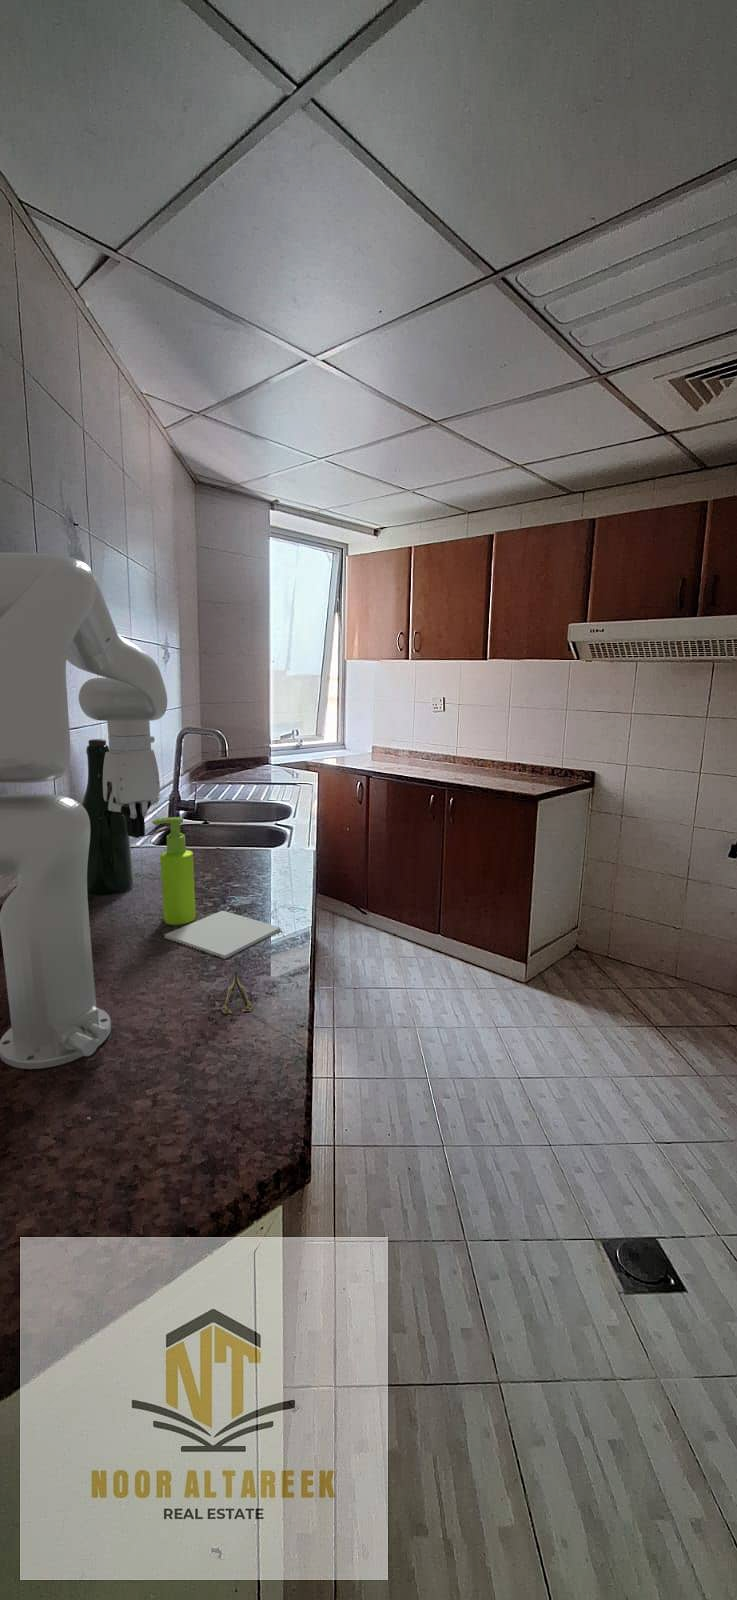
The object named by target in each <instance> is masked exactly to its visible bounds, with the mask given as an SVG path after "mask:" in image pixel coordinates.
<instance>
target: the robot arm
mask: <svg viewBox="0 0 737 1600" xmlns="http://www.w3.org/2000/svg"><path fill="white" fill-rule="evenodd" d="M117 631H118V630H117V629H116V626H115V624H114V622H113V618H112V617H111V614H110V611H109V608H108V606H107V603H106V599H105V598H104V594H103V593H102V590H101V587H100V585H99V582H98V580H97V578H96V576H95V575H94V573H93V570H92V569H91V568H90V566H89V565H87V564H86V562H83V561H82V560H80V559H78V558H75V557H70V556H68V555H67V556H66V555H61V554H51V553H37V552H0V785H1V784H3V785H4V784H33V783H36V784H37V783H44V782H50V781H54V780H57V779H59V778H61V777H63V776H64V775H65V773H66V772H67V771H68V769H69V766H70V763H71V733H70V731H71V730H70V718H69V703H68V701H69V700H68V689H67V671H66V670H67V666H66V665H67V662H68V663H70V664H71V665H72V666H74V667H76V668H77V669H80V670H82V671H84V672H88V673H91V674H93V675H97V676H99V677H93V678H91V679H88V680H86V681H85V682H83V684H82V685H81V686H80V689H79V694H78V702H79V703H78V704H79V707H80V709H81V710H82V712H83V713H84V714H85V716H87V717H88V718H90V719H91V720H95V721H102V722H103V721H105V722H106V723H107V725H106V726H107V736H108V747H109V752H106V753H105V758H104V765H103V797H104V800H105V801H106V802H109V805H108V810H109V811H114V812H120V813H122V814H123V816H124V817H126V824H127V832H128V836H130V838H131V837H132V838H136V839H139V838H141V837H143V838H144V837H145V836H146V833H145V831H146V830H145V829H146V824H145V817H146V816H147V814H148V810H149V809H150V808H151V806H153V805H155V804H157V803H158V802H159V800H160V799H159V796H160V794H161V793H160V792H161V791H160V790H161V783H160V782H161V781H160V774H159V768H158V761H157V757H156V754H155V750H154V749H152V744H153V743H154V742H155V737H154V736H153V735H151V725H150V724H151V723H150V721H152V722H153V721H157V720H160V719H161V718H163V716H164V715H165V713H166V712H167V709H168V695H167V689H166V685H165V682H164V680H163V676H162V674H161V670H160V668H159V666H158V664H157V663H156V662H155V660H154V659H153V658H152V657H151V656H150V655H149V654H148V653H147V652H145V651H144V650H143V649H141V648H140V647H139V646H137V645H135V644H134V643H132V642H131V641H129V640H128V639H126V638H124V637H123V636H121V635H119V634H118V633H117ZM81 804H82V803H80V802H79V801H77V800H75V799H73V798H71V797H68V796H65V795H58V794H53V793H52V794H51V793H8V794H7V793H6V794H0V877H1V876H3V877H14V878H15V877H16V878H18V879H19V882H18V884H17V885H16V887H15V888H14V890H13V891H12V892H11V893H9V895H8V896H7V898H6V899H5V901H4V902H3V905H2V907H1V909H0V936H1V937H0V938H1V945H2V946H1V947H2V954H3V963H4V971H5V979H6V988H7V998H8V999H7V1000H8V1007H9V1008H8V1009H9V1015H10V1017H9V1019H10V1028H9V1029H8V1030H7V1031H6V1032H5V1033H4V1034H3V1035H2V1036H1V1038H0V1059H1V1061H3V1062H4V1064H7V1065H8V1066H11V1067H12V1068H18V1069H24V1070H25V1069H26V1070H37V1069H41V1070H42V1069H46V1068H52V1067H56V1066H57V1067H58V1066H61V1065H64V1064H68V1063H71V1062H73V1061H76V1060H78V1059H79V1058H83V1057H89V1056H91V1055H93V1054H94V1053H95V1052H96V1050H97V1048H99V1046H101V1045H102V1044H103V1043H104V1042H105V1041H106V1040H107V1038H108V1036H109V1035H110V1033H111V1031H112V1022H111V1021H112V1019H111V1018H110V1017H111V1016H110V1015H109V1014H108V1013H107V1012H106V1011H105V1010H103V1009H101V1008H99V1007H97V1001H96V1000H97V999H96V987H95V976H94V962H93V961H94V960H93V951H92V950H93V949H92V939H91V938H92V937H91V927H90V925H91V924H90V913H89V912H90V911H89V900H88V899H89V898H88V897H89V895H88V894H87V864H88V853H89V843H90V829H91V828H90V819H89V816H88V813H87V811H86V809H85V808H84V807H83V806H82V805H81ZM119 804H120V805H119Z"/></svg>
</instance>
